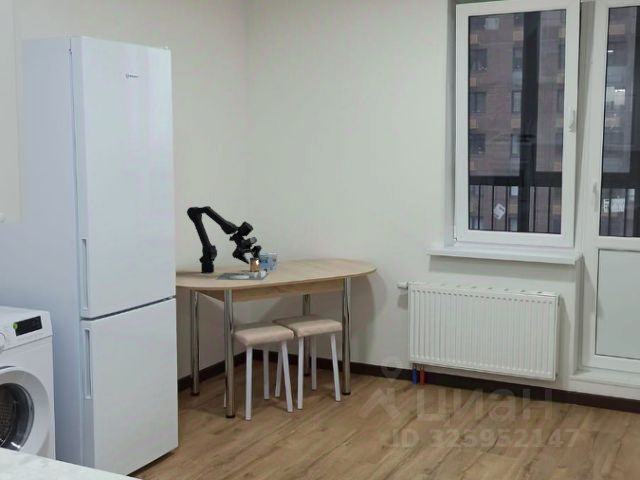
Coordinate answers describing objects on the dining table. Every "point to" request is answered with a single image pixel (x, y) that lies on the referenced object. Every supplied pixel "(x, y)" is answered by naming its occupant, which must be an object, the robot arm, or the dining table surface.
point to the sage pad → (239, 277)
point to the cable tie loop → (256, 274)
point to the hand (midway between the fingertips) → (254, 262)
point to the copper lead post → (254, 264)
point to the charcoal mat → (226, 275)
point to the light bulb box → (268, 262)
